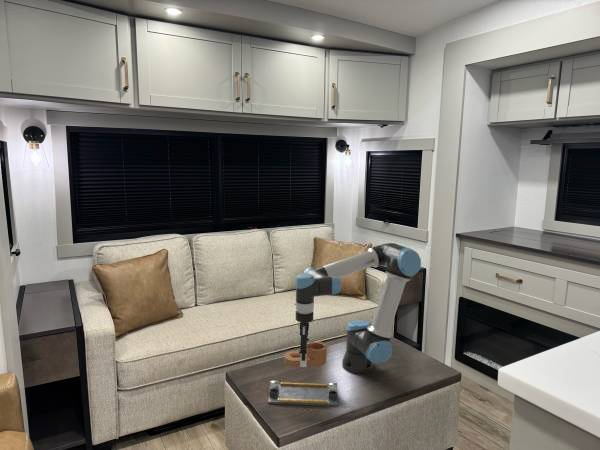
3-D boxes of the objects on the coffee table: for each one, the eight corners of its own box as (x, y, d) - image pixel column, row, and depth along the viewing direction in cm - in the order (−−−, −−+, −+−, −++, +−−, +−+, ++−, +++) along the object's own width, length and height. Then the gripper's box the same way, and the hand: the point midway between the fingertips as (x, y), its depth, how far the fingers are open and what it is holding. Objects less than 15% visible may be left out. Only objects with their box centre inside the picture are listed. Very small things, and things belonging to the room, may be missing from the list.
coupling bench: (336, 388, 183) (336, 375, 182) (337, 406, 170) (337, 392, 169) (271, 386, 184) (271, 373, 183) (268, 403, 171) (268, 389, 170)
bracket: (324, 356, 179) (325, 341, 178) (327, 365, 171) (328, 350, 170) (283, 357, 178) (284, 342, 176) (284, 367, 169) (285, 351, 168)
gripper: (297, 301, 181) (296, 348, 185) (294, 320, 160) (293, 374, 164) (313, 302, 181) (312, 349, 185) (313, 321, 160) (312, 374, 163)
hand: (303, 360), depth 174 cm, fingers closed on bracket, 9 cm apart
